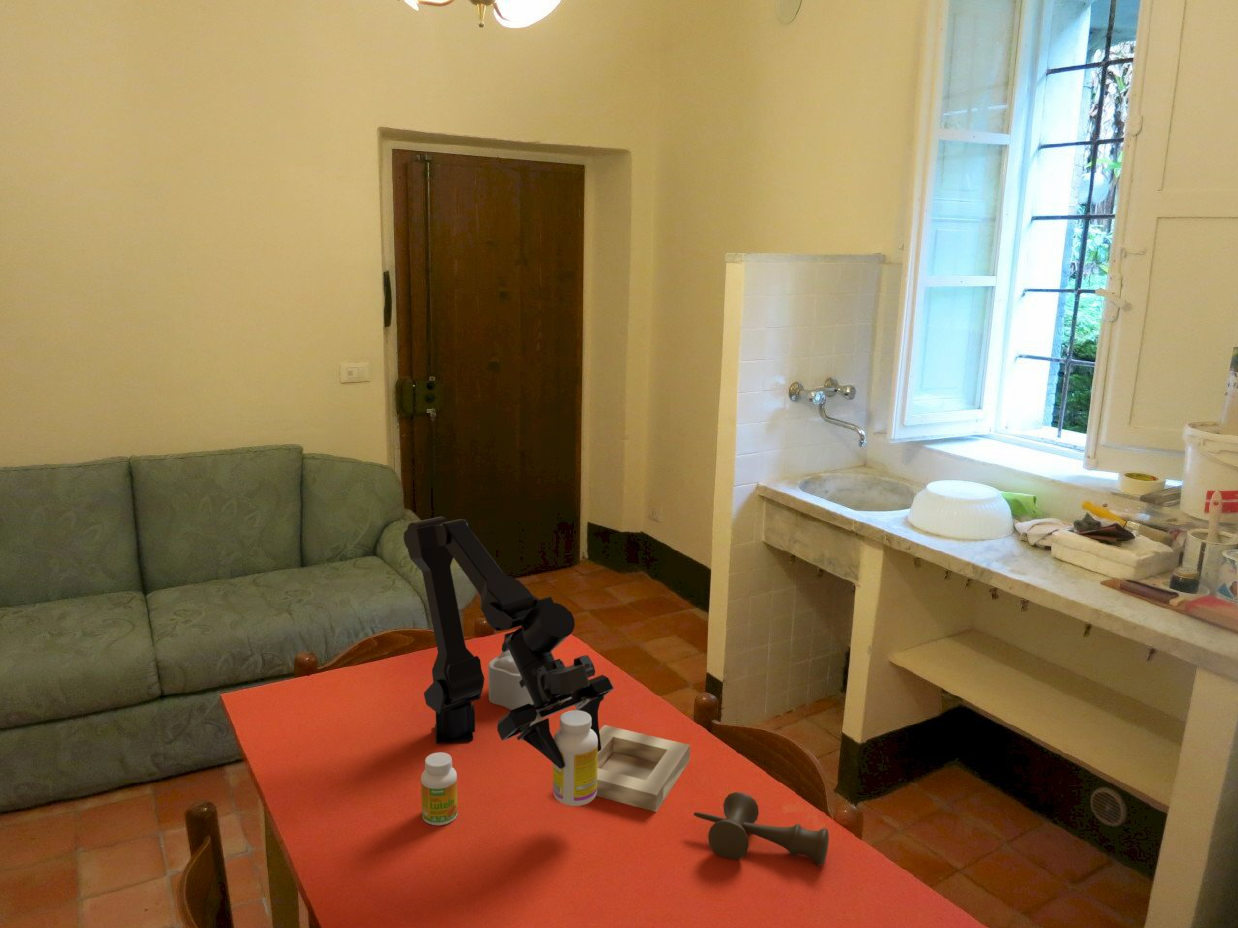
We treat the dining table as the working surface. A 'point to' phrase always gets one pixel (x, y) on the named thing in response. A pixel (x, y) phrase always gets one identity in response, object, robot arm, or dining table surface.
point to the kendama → (759, 832)
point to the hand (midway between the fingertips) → (581, 759)
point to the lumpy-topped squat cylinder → (506, 683)
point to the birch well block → (638, 767)
